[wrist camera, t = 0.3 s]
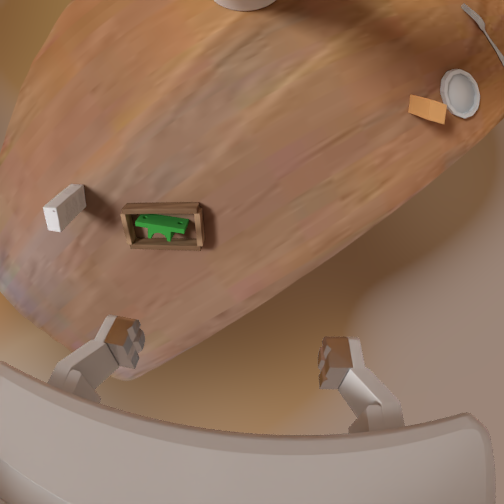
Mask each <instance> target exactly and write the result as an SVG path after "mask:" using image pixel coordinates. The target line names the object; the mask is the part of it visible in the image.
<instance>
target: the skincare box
mask: <svg viewBox="0 0 504 504" xmlns="http://www.w3.org/2000/svg"><path fill="white" fill-rule="evenodd" d="M85 207H86V200H85V193H84V185H80V184H70V185H69V186H68V187H66V188H65V189H64V190H63V191H61V192H60V193H59V194H58V195H57V196H55V197H54V198H53V199H52V200H51V201H49V202H48V203H47V204H46V205H45V206H44V207H43V210H44V214H45V218H46V222H47V227H48V230H51V231H57V232H62V231H63V230H64V229H65V227H66V226H67V225H68V224H69V223H70V222H71V221H72V220H73V219H74V218H75V217H76V216H77V215H78V214H79V213H80V212H81V211H82V210H83V209H84V208H85Z"/></svg>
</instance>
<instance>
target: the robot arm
mask: <svg viewBox="0 0 504 504" xmlns="http://www.w3.org/2000/svg"><path fill="white" fill-rule="evenodd" d="M214 1H215V2H216V3H217V4H219V5H221V6H223V7H225V8H228V9H232V10H238V11H251V10H257V9H260V8H263V7H266V6H268V5H270V4H271V3H273V2H274V1H276V0H214ZM140 325H141V324H140V322H139V320H136V319H131V318H126V317H121V316H116V315H111V314H109V315H108V316H107V317H106V319H105V320H104V322H103V324H102V326H101V328H100V330H99V332H98V334H97V336H96V337H95V339H94V340H90V341H89V342H87V343H86V344H84V345H83V346H82V347H80V348H79V349H77V350H76V351H74V352H73V353H71V354H70V355H68V356H67V357H65V358H64V359H62V360H61V361H60V362H58V363H57V365H56V367H55V369H54V371H53V373H52V375H51V377H50V379H49V381H48V383H45V382H43V381H41V380H39V379H37V378H34V377H32V376H30V375H28V374H26V373H24V372H22V371H20V370H18V369H16V368H14V367H13V366H11V365H9V364H7V363H5V362H3V361H0V504H495V498H496V495H495V493H496V483H495V481H496V480H495V464H494V456H493V449H492V443H491V438H490V434H489V432H488V429H487V428H486V427H485V426H484V425H483V424H482V423H481V422H480V421H479V420H478V419H477V418H476V417H474V416H473V415H472V414H471V413H467V412H466V413H461V414H457V415H454V416H450V417H446V418H442V419H438V420H434V421H429V422H425V423H420V424H415V425H410V426H405V425H404V420H403V414H402V409H401V404H400V401H399V400H398V399H397V398H396V397H395V396H394V395H393V393H391V391H390V390H389V389H388V388H387V387H386V386H385V385H384V384H383V383H382V382H381V381H380V380H379V379H378V377H377V376H376V375H375V374H374V373H373V372H372V371H371V370H370V369H369V368H365V364H364V359H363V354H362V349H361V344H360V340H359V338H358V337H324V338H323V341H322V344H323V346H322V347H321V348H320V350H319V354H318V368H319V369H320V370H321V372H320V374H319V385H320V389H338V391H339V392H340V394H341V395H342V397H343V398H344V399H345V401H346V402H347V404H348V405H349V407H350V408H351V409H352V411H353V412H354V414H355V415H356V416H357V419H356V420H355V421H354V423H353V424H352V425H351V426H350V427H349V433H348V434H332V435H268V434H252V433H239V432H230V431H221V430H214V429H206V428H200V427H194V426H187V425H182V424H177V423H171V422H167V421H162V420H158V419H153V418H148V417H145V416H141V415H137V414H133V413H130V412H126V411H123V410H119V409H116V408H112V407H109V406H106V405H103V404H100V400H101V398H100V396H99V395H98V393H97V392H96V391H95V389H96V388H97V387H98V386H99V385H100V384H101V383H102V382H103V381H104V380H106V379H107V378H108V377H109V376H110V375H111V374H112V373H113V372H114V371H115V370H117V369H118V368H119V366H122V367H127V368H132V369H135V368H136V365H137V363H138V360H139V355H138V353H139V352H140V351H142V349H143V347H144V342H145V336H144V332H143V331H142V330H141V329H140Z"/></svg>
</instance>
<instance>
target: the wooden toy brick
mask: <svg viewBox="0 0 504 504" xmlns="http://www.w3.org/2000/svg"><path fill="white" fill-rule="evenodd" d="M446 108H447V105H446V104H443V103H440V102H437V101H434V100H431V99H427V98H423V97H419V96H415V95H411V94H410V103H409V111H408V113H411V114H414V115H417V116H419V117H422V118H425V119H427V120H431V121H434V122H438V123H441V124H444V122H445V115H446Z"/></svg>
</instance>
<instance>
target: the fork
mask: <svg viewBox="0 0 504 504" xmlns="http://www.w3.org/2000/svg"><path fill="white" fill-rule="evenodd" d="M463 4H464V3H463ZM463 4H462V5H463ZM464 5H465V4H464ZM464 5H463V6H464ZM463 6H462V7H463ZM465 6H467V5H465ZM465 6H464V7H465ZM462 7H461V8H462ZM464 7H463V8H464ZM467 7H468V6H467ZM467 7H465V9H466V8H467ZM463 8H462V9H463ZM468 8H469V7H468ZM468 8H467V9H468ZM465 9H463V10H464V11H466V10H467V9H466V10H465ZM469 9H470V10H471V11H470V10H469ZM469 9H468V10H469V11H470V12H469V11H468V10H467V11H468V12H469V13H470V14H469V13H468V12H467V11H466V12H467V13H468V14H469V15H470V16H471V17H472V18H473V19H474V20H475V21H476V22H477V24H478V25H479V27H480V29H481V30H483V31H484V33H485V35H486V36H487V38H488V40H489V41H490V43H491V44H492V46H493V47H494V49H495V51H496V52H497V54H498V56H499V58H500V60H501V62H502V64H503V66H504V56H503V55H502V54H501V52H500V51H499V50H498V48H497V47H496V46H495V44H494V43H493V41H492V40H491V39H490V37H489V36H488V34H487V33H486V31H485V23H484V21H483V20H482V18H481V17H480V16H479V15H478V14H477V13H475V12H474V11H473V10H472V9H471V8H469ZM473 12H474V13H475V14H476V15H477V16H478V17H479V18H480V19H479V18H478V17H477V16H476V15H475V14H474V13H473ZM473 14H474V15H475V16H476V17H477V18H478V19H479V20H478V19H477V18H476V17H475V16H474V15H473ZM473 16H474V17H473Z"/></svg>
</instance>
